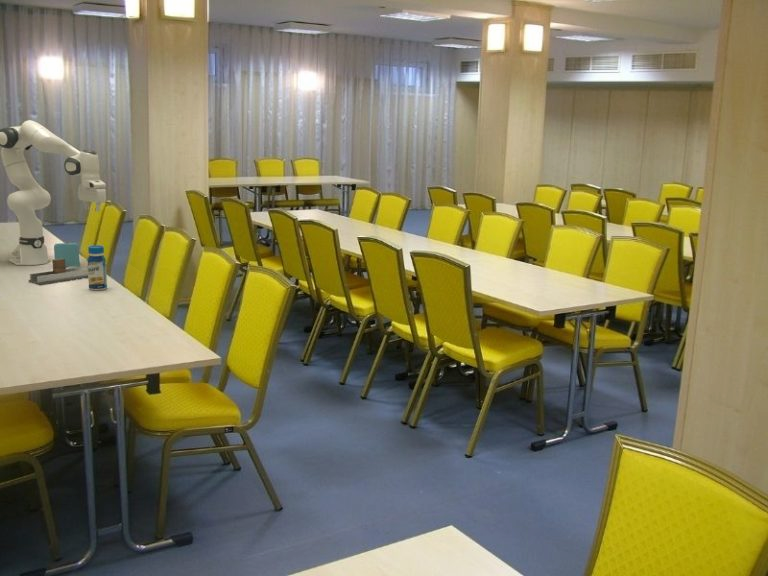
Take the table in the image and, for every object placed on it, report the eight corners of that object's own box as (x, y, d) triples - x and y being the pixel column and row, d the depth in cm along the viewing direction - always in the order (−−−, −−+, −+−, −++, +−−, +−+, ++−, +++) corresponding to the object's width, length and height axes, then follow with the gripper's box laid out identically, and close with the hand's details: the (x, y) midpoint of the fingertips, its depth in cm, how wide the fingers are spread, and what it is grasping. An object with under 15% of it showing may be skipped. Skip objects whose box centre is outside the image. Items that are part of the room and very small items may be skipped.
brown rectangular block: (53, 277, 402) (52, 259, 400) (63, 276, 406) (61, 258, 404) (56, 278, 400) (55, 260, 398) (66, 277, 404) (65, 259, 402)
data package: (79, 265, 440) (78, 242, 438) (79, 266, 436) (78, 244, 434) (55, 266, 436) (53, 243, 433) (55, 267, 431) (54, 245, 429)
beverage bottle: (111, 288, 388) (109, 246, 384) (97, 291, 381) (95, 248, 376) (98, 286, 392) (96, 244, 388) (84, 289, 385) (82, 246, 380)
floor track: (28, 281, 397) (28, 273, 396) (78, 274, 417) (78, 266, 416) (40, 285, 390) (39, 277, 389) (90, 277, 410) (90, 269, 409)
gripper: (74, 181, 421) (75, 208, 424) (96, 185, 408) (97, 212, 411) (85, 181, 426) (86, 208, 429) (107, 184, 413) (109, 211, 416)
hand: (92, 210), depth 420 cm, fingers open, 8 cm apart
